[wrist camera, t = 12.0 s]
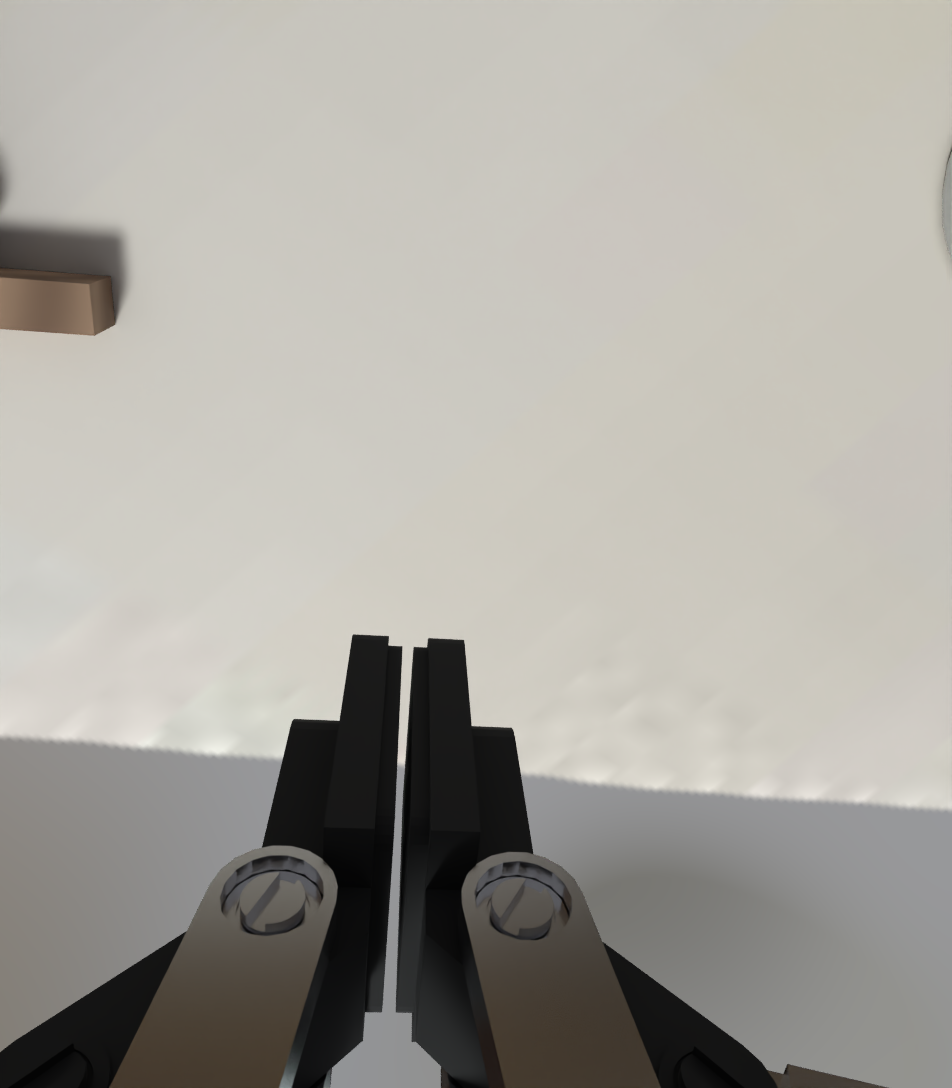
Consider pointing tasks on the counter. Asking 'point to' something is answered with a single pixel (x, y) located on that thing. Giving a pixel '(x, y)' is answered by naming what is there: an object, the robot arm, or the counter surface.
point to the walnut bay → (55, 302)
